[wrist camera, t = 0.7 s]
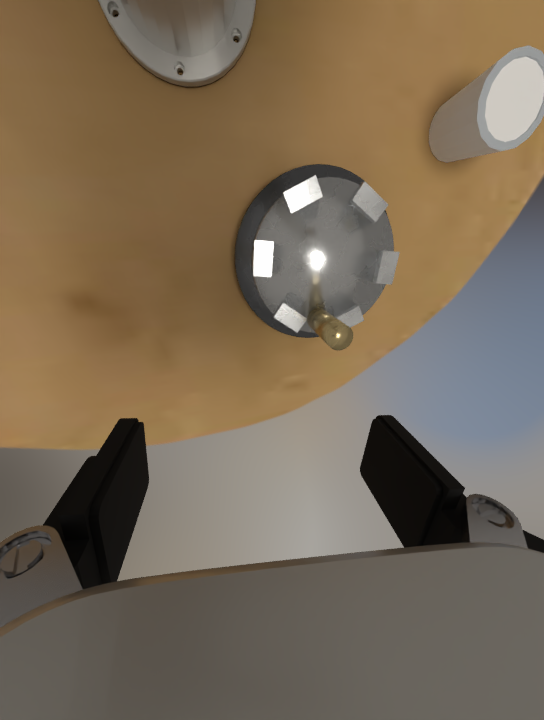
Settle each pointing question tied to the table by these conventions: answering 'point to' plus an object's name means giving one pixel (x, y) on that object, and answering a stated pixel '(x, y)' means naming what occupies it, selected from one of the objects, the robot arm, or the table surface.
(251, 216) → the dark grey round base
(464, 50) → the table surface
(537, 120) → the grey white-topped cylinder
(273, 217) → the grey tabbed disc
